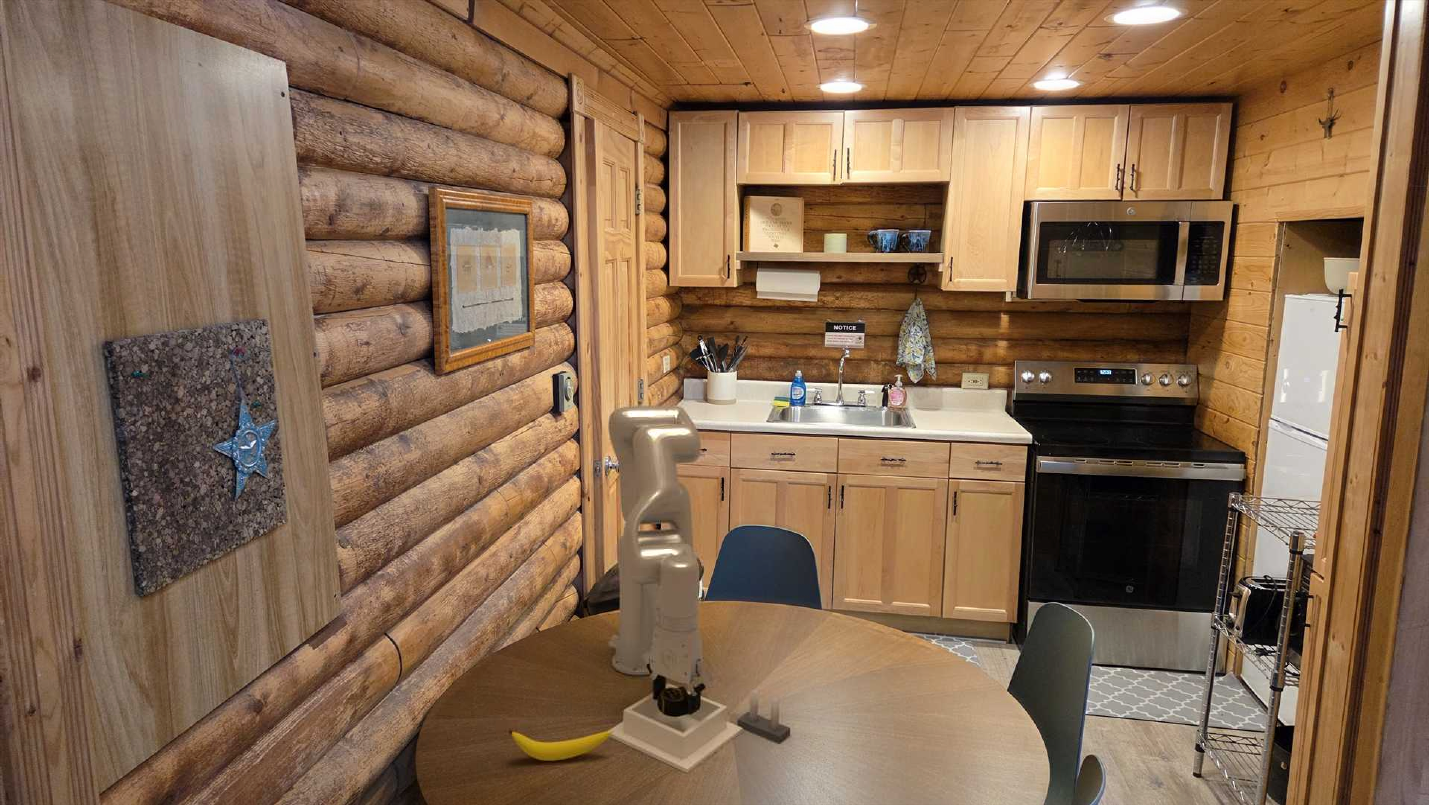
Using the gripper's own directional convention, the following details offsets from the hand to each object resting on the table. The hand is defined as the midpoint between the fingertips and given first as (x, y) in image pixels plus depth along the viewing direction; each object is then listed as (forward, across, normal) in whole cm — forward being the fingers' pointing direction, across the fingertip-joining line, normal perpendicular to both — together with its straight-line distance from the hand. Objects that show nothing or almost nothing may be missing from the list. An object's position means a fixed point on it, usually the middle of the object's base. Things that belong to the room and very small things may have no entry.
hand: (676, 704), depth 165 cm
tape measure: (+2, 0, +1) cm, 2 cm away
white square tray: (+6, 0, 0) cm, 6 cm away
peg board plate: (+6, +13, +12) cm, 19 cm away
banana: (+7, -11, -20) cm, 24 cm away
